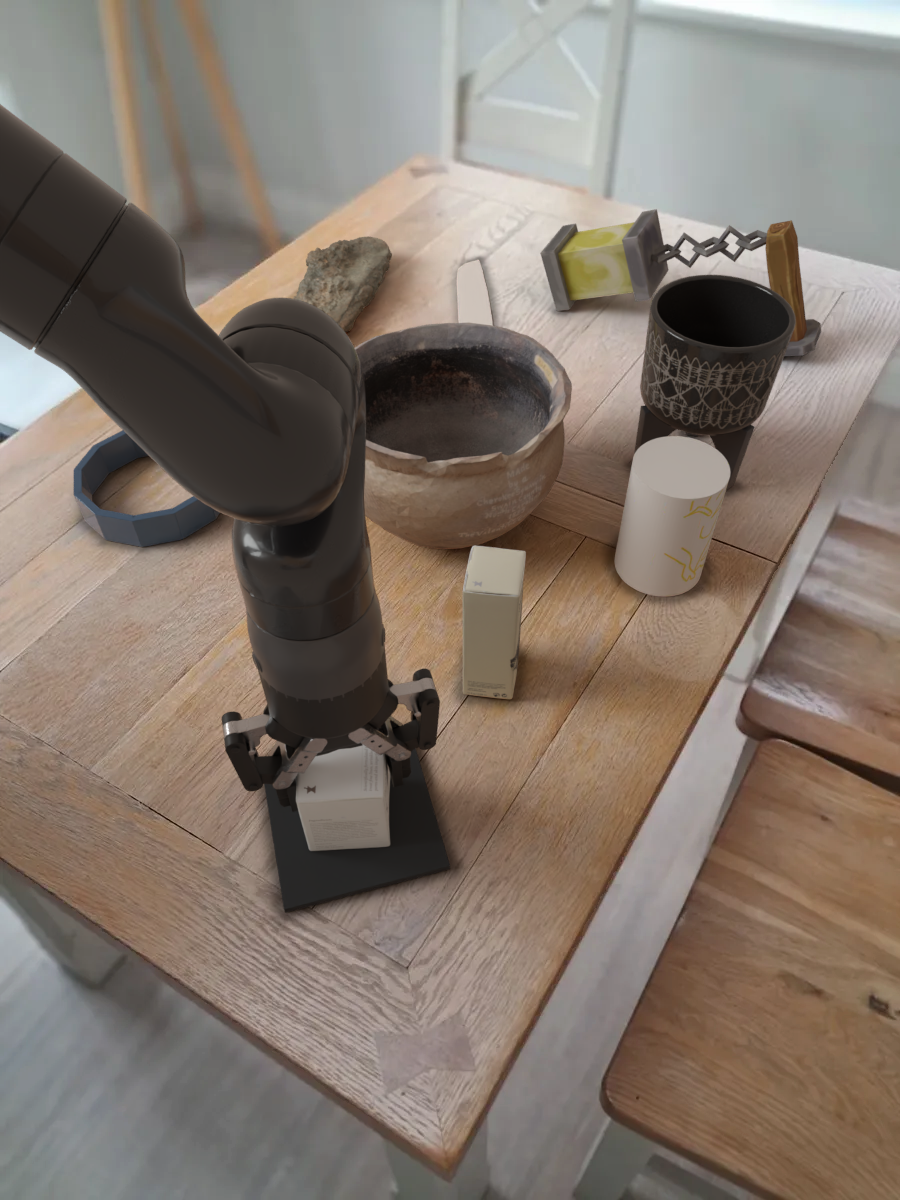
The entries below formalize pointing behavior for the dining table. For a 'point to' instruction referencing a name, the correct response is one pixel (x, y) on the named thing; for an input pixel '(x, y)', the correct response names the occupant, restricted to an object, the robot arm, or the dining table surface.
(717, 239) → the lantern
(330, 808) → the product carton
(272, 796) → the coaster
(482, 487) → the ceramic bowl
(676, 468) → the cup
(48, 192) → the robot arm
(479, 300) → the knife
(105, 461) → the faceted polygonal ring
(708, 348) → the planter
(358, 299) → the long grey stone
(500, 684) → the box
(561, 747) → the dining table surface
